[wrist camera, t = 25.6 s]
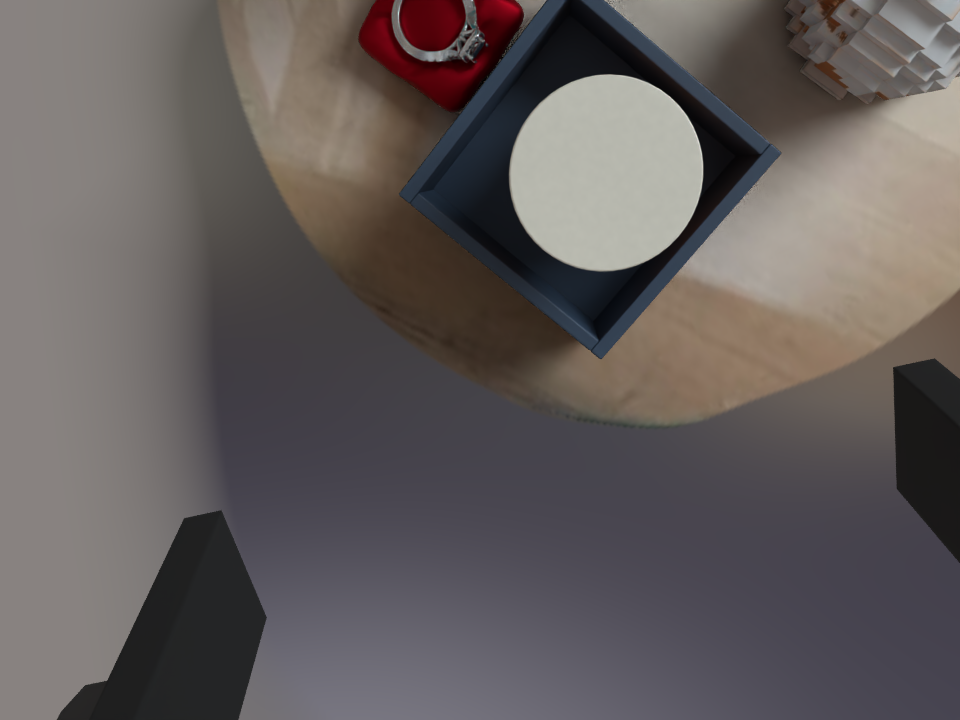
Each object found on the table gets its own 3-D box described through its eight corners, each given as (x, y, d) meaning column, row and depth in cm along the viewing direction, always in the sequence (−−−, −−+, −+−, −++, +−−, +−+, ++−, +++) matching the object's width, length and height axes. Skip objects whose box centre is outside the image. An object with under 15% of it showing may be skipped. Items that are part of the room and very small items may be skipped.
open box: (417, 190, 42) (398, 194, 37) (567, -4, 40) (569, -30, 34) (594, 335, 43) (600, 360, 38) (751, 154, 41) (782, 153, 35)
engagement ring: (459, 121, 42) (453, 118, 39) (356, 45, 41) (342, 36, 38) (532, 14, 40) (531, 3, 37) (426, -66, 40) (417, -83, 37)
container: (490, 183, 41) (470, 190, 31) (582, 67, 40) (594, 31, 29) (598, 272, 42) (615, 309, 31) (693, 160, 40) (744, 159, 30)
